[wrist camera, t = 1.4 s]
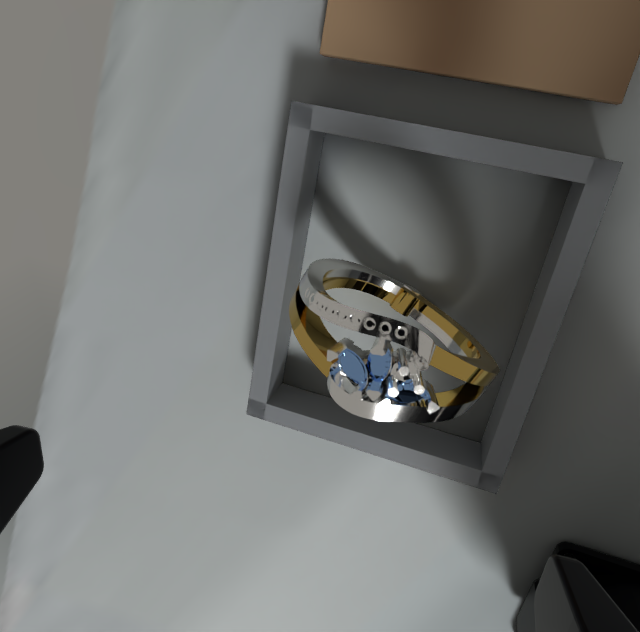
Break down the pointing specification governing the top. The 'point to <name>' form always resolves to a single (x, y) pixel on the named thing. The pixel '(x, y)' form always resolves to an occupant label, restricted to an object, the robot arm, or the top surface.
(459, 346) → the ring
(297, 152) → the bin
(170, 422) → the top surface
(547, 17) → the pad
